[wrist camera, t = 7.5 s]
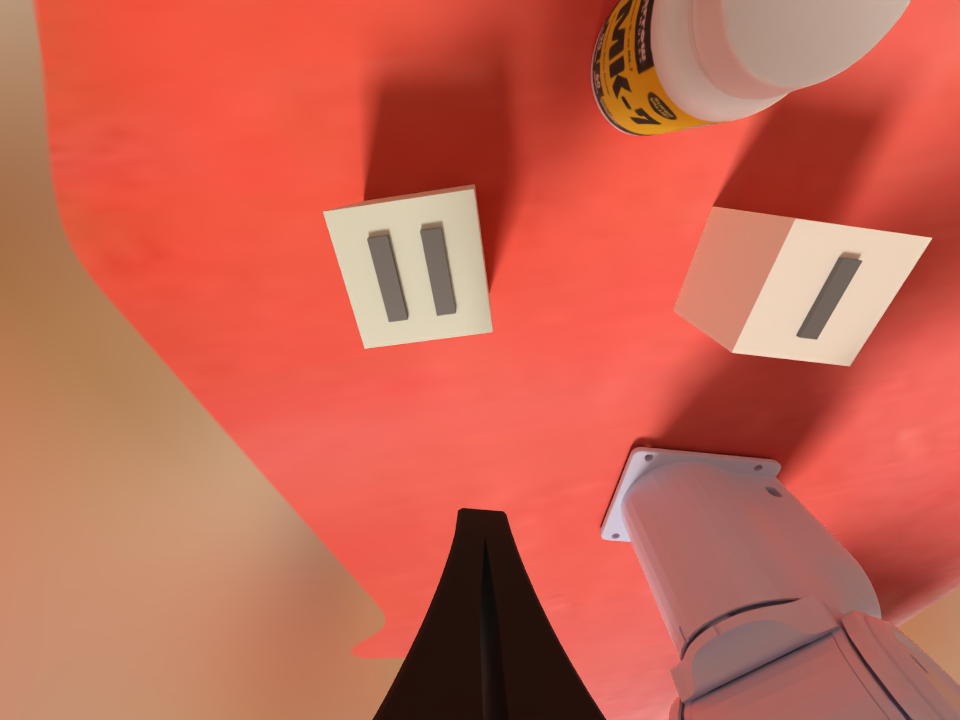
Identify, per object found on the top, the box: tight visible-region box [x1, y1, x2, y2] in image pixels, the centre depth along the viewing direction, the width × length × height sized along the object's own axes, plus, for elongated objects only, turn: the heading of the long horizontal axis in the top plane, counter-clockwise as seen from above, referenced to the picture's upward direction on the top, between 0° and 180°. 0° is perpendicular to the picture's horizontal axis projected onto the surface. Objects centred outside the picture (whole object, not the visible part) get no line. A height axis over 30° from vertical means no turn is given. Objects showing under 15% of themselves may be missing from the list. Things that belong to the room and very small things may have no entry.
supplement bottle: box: [591, 0, 911, 136], centre depth 11 cm, size 5×5×8 cm
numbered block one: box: [673, 206, 932, 366], centre depth 16 cm, size 5×5×5 cm
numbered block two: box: [323, 184, 493, 349], centre depth 15 cm, size 5×5×5 cm
